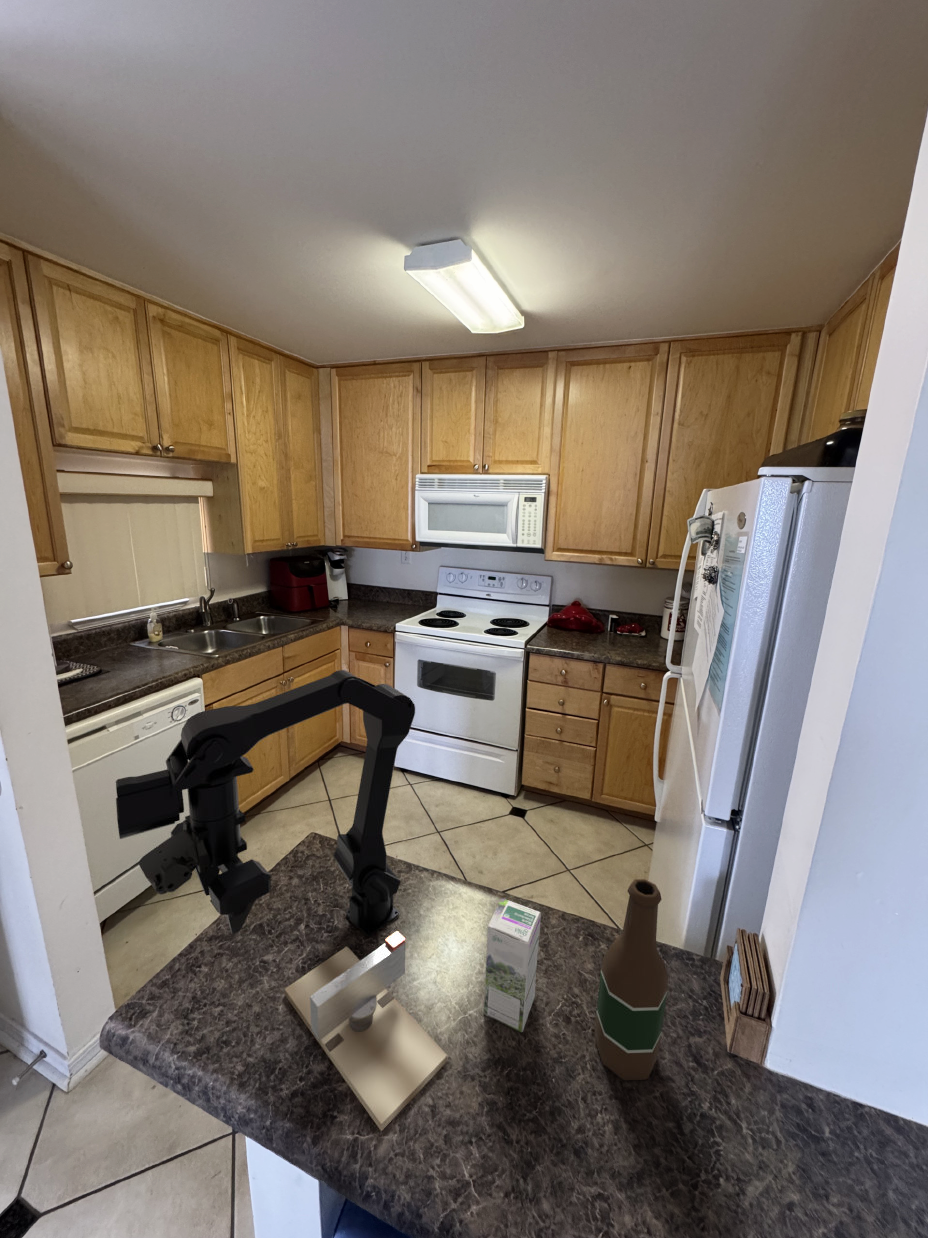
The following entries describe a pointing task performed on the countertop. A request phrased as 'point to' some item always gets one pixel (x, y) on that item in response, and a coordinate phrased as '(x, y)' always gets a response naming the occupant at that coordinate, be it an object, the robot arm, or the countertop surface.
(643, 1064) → the beer bottle
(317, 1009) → the grey rectangular bar
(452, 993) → the countertop surface
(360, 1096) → the post board
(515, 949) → the syrup box
